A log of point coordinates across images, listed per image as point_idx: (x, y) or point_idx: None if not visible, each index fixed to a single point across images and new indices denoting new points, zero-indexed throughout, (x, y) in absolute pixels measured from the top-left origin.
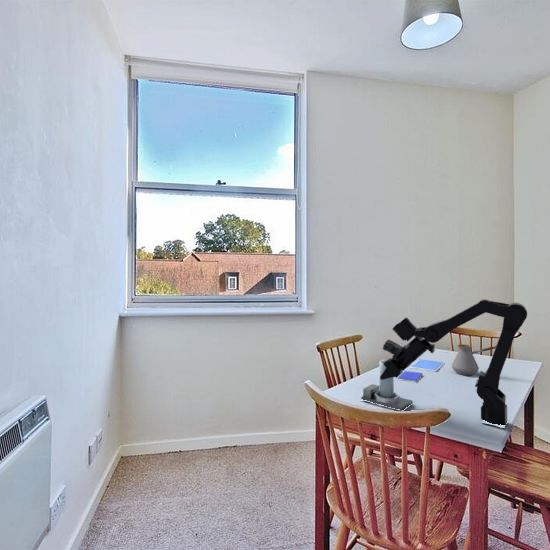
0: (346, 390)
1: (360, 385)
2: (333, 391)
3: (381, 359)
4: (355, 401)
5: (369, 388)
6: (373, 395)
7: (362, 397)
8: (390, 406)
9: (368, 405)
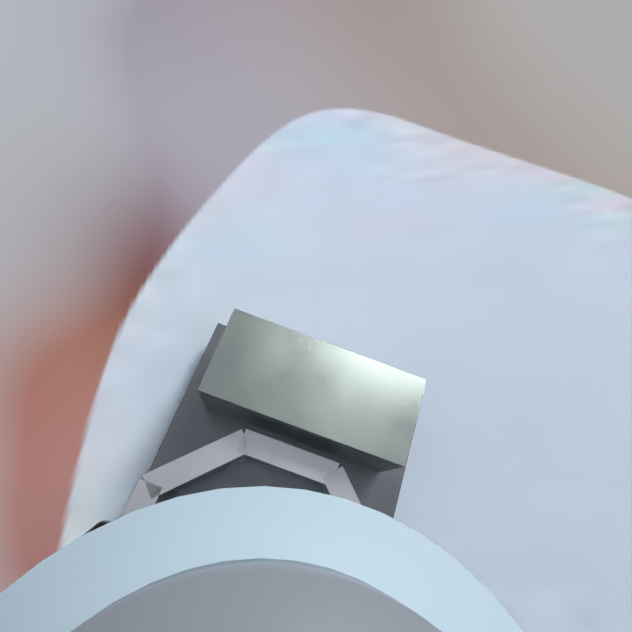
0: (415, 201)
1: (578, 279)
2: (353, 127)
3: (385, 595)
4: (192, 292)
5: (261, 371)
6: (262, 427)
7: (214, 334)
8: None
9: (122, 409)
